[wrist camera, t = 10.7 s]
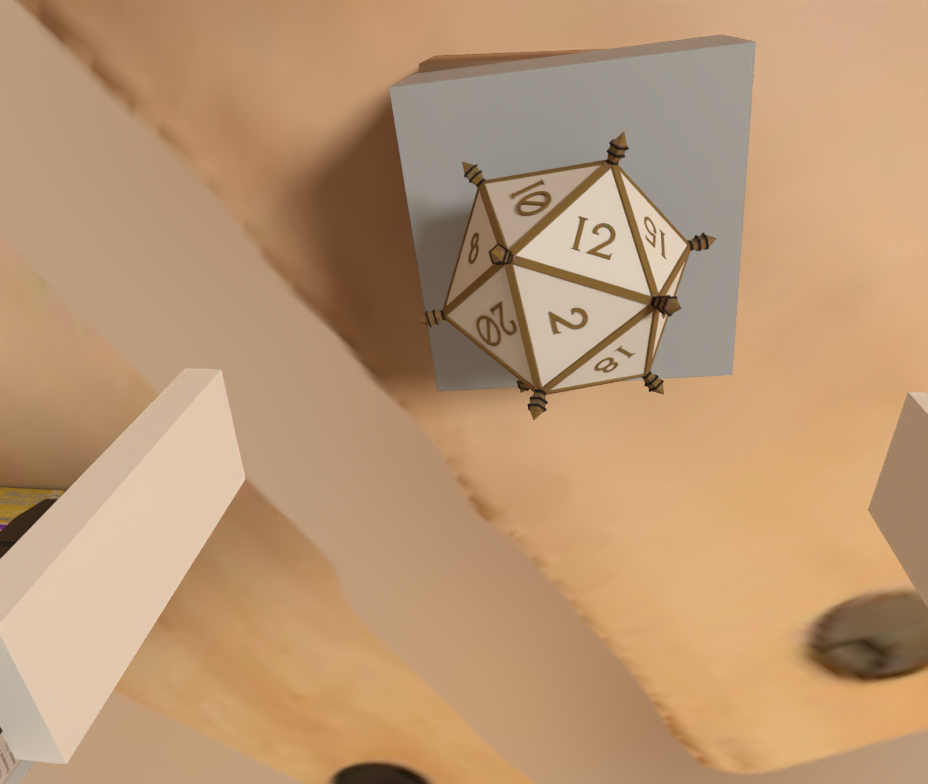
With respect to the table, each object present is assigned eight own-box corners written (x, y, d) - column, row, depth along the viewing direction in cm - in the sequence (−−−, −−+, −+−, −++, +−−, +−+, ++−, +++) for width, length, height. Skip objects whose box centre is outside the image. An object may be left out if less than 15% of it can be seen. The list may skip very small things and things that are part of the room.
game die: (566, 263, 30) (516, 480, 26) (422, 135, 25) (336, 377, 21) (772, 192, 24) (747, 466, 20) (632, 2, 19) (563, 315, 15)
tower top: (413, 73, 28) (388, 87, 24) (721, 34, 26) (755, 41, 22) (451, 341, 34) (437, 391, 30) (707, 324, 32) (732, 374, 28)
